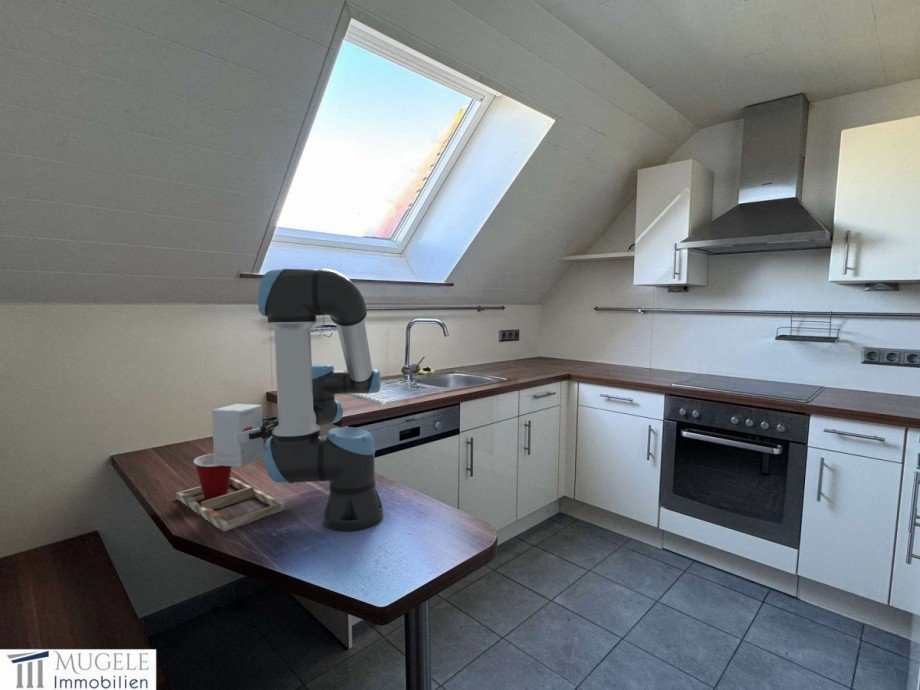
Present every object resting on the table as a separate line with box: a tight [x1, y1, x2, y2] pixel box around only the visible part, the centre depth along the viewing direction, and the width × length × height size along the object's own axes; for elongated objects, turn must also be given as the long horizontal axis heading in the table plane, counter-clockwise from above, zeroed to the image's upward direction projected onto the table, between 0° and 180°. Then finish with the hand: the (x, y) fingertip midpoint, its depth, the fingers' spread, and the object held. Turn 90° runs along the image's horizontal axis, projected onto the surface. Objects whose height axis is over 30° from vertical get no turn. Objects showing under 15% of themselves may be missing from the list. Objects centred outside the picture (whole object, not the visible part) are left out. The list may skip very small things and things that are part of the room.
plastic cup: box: [193, 452, 233, 501], centre depth 135 cm, size 11×11×12 cm
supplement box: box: [211, 403, 265, 468], centre depth 124 cm, size 9×9×15 cm
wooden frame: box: [176, 476, 285, 532], centre depth 130 cm, size 32×16×3 cm, turn 50°
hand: (223, 435), depth 121 cm, fingers closed on supplement box, 11 cm apart
